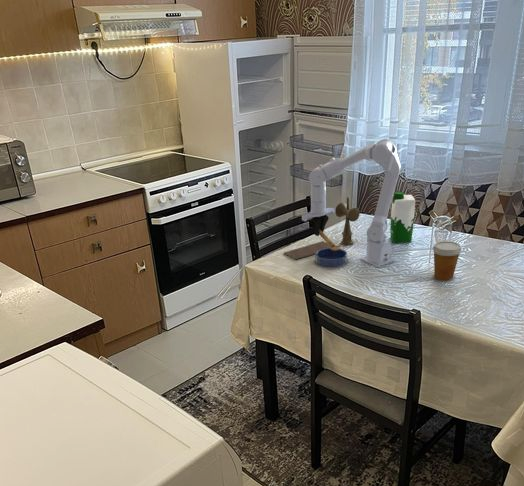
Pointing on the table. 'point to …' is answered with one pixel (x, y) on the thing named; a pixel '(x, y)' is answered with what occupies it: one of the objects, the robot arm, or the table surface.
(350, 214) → the kendama
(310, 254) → the board
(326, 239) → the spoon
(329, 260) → the bowl
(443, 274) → the disposable coffee cup
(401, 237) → the milk carton
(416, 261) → the table surface
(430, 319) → the table surface
